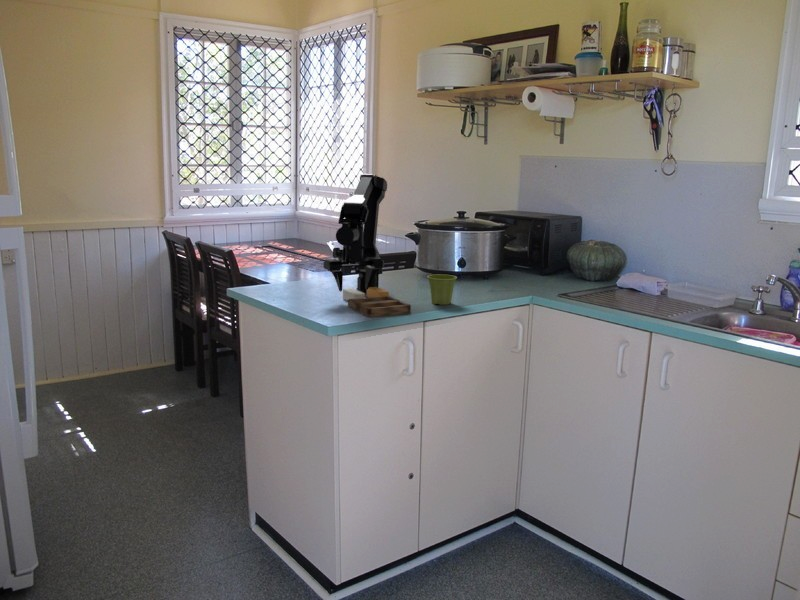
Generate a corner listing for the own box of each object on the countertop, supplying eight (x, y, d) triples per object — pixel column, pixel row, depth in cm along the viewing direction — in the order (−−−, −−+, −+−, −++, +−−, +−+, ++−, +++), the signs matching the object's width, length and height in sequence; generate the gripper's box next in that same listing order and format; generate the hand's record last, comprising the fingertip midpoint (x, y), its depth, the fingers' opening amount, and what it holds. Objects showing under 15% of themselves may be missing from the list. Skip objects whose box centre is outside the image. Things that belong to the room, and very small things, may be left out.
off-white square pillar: (342, 299, 217) (342, 289, 216) (352, 298, 219) (352, 288, 218) (354, 305, 209) (354, 294, 209) (364, 304, 211) (364, 293, 210)
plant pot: (421, 301, 217) (422, 274, 215) (447, 299, 220) (448, 273, 219) (434, 307, 208) (435, 279, 207) (460, 305, 212) (462, 278, 210)
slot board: (388, 303, 212) (388, 295, 212) (410, 312, 200) (410, 305, 199) (348, 306, 206) (348, 299, 205) (368, 317, 193) (368, 308, 193)
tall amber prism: (366, 297, 221) (366, 287, 220) (375, 297, 223) (376, 286, 222) (378, 303, 213) (378, 292, 213) (388, 302, 215) (388, 291, 214)
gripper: (369, 237, 221) (369, 284, 225) (317, 239, 213) (317, 287, 216) (384, 241, 212) (384, 290, 215) (330, 244, 203) (330, 294, 206)
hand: (353, 290), depth 213 cm, fingers open, 9 cm apart
